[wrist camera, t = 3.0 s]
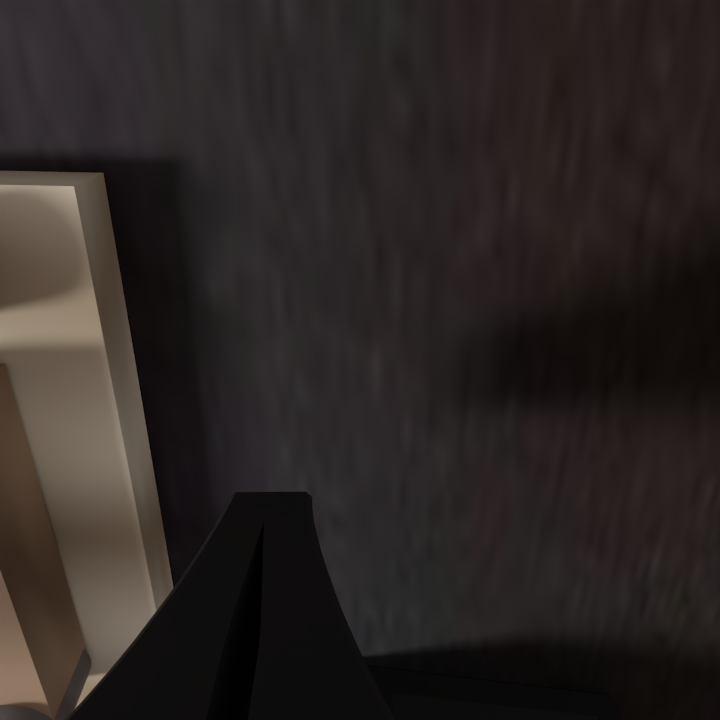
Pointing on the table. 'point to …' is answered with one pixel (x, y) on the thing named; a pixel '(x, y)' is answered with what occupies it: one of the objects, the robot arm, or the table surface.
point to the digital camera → (483, 699)
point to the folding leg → (32, 590)
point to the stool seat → (81, 403)
